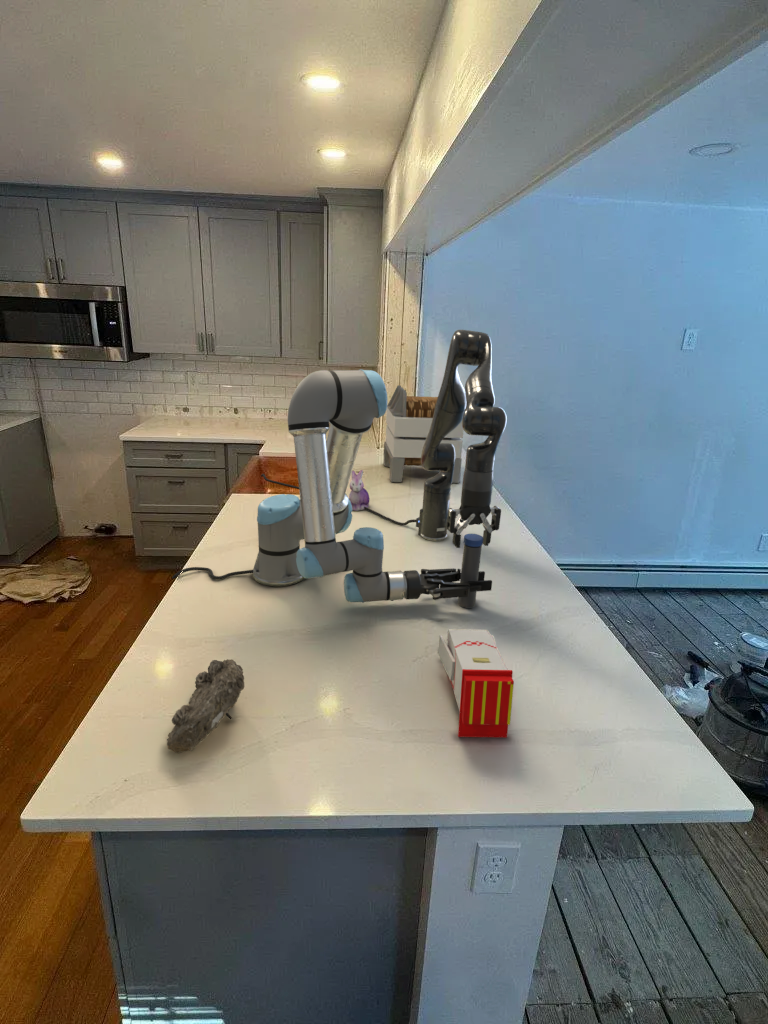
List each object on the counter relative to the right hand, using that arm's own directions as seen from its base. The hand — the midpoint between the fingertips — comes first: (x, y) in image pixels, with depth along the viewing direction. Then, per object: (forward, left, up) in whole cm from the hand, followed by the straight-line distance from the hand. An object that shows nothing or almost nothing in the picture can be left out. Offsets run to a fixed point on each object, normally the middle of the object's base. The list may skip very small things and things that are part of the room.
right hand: (471, 545), depth 148 cm
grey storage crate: (-78, +102, -17) cm, 130 cm away
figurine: (-70, +42, -17) cm, 83 cm away
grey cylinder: (0, 0, -17) cm, 17 cm away
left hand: (+4, +4, -11) cm, 12 cm away
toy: (+19, -33, -17) cm, 42 cm away
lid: (0, 0, +2) cm, 2 cm away
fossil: (-17, -71, -17) cm, 75 cm away
